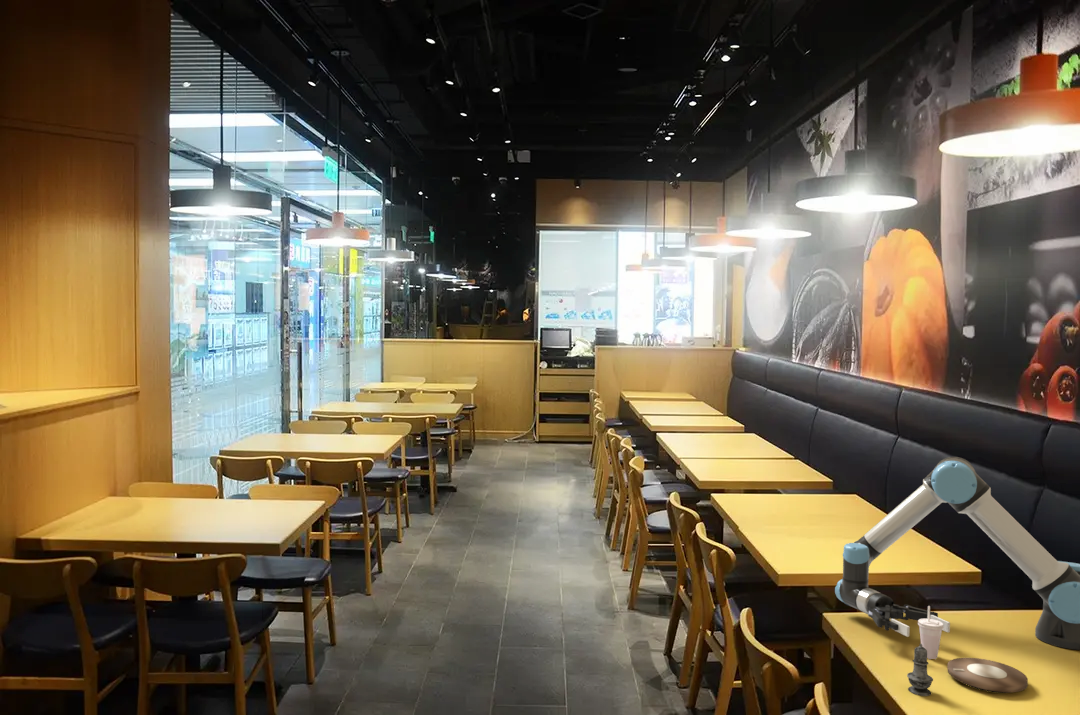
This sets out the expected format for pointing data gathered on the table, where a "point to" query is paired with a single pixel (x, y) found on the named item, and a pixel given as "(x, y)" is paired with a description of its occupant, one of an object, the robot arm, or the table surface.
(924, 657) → the salt shaker
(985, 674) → the turntable
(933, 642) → the smoothie
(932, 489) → the robot arm
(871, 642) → the table surface
